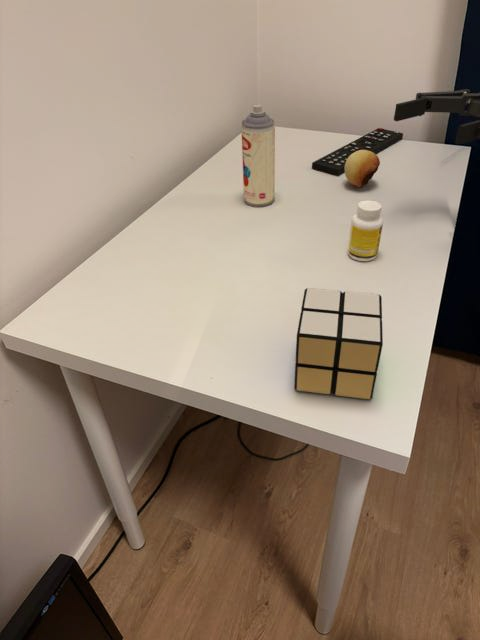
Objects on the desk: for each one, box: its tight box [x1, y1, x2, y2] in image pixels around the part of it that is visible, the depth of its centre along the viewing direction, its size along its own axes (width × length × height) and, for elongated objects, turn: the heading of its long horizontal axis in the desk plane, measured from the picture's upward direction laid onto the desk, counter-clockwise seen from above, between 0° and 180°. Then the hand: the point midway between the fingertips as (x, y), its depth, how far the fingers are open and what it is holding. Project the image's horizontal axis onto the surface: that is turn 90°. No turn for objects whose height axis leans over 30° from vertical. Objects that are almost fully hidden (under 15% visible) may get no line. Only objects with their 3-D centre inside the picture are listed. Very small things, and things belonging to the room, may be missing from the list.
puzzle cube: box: [293, 287, 384, 400], centre depth 63 cm, size 10×10×10 cm
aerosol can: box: [240, 104, 276, 208], centre depth 102 cm, size 7×7×20 cm
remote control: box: [311, 127, 404, 177], centre depth 126 cm, size 8×32×2 cm, turn 137°
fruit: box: [344, 150, 381, 188], centre depth 109 cm, size 8×8×8 cm
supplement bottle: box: [347, 199, 384, 262], centre depth 86 cm, size 5×5×10 cm
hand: (425, 123), depth 79 cm, fingers open, 13 cm apart
